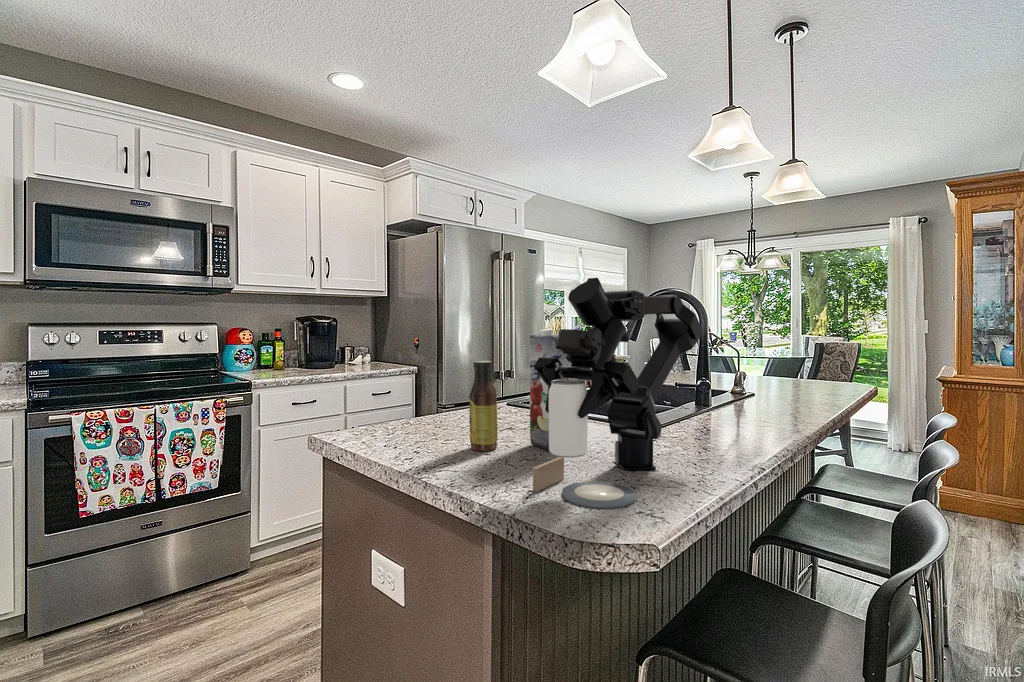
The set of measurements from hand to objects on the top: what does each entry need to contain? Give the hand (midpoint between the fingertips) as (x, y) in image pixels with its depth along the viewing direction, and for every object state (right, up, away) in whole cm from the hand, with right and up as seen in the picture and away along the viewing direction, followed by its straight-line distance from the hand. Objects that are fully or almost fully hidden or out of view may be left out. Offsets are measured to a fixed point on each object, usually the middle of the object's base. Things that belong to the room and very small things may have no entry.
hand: (563, 414), depth 86 cm
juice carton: (+1, -12, +34) cm, 36 cm away
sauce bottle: (-15, -12, +32) cm, 37 cm away
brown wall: (-2, -13, +5) cm, 14 cm away
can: (+1, -7, +1) cm, 7 cm away
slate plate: (+6, -13, 0) cm, 15 cm away
